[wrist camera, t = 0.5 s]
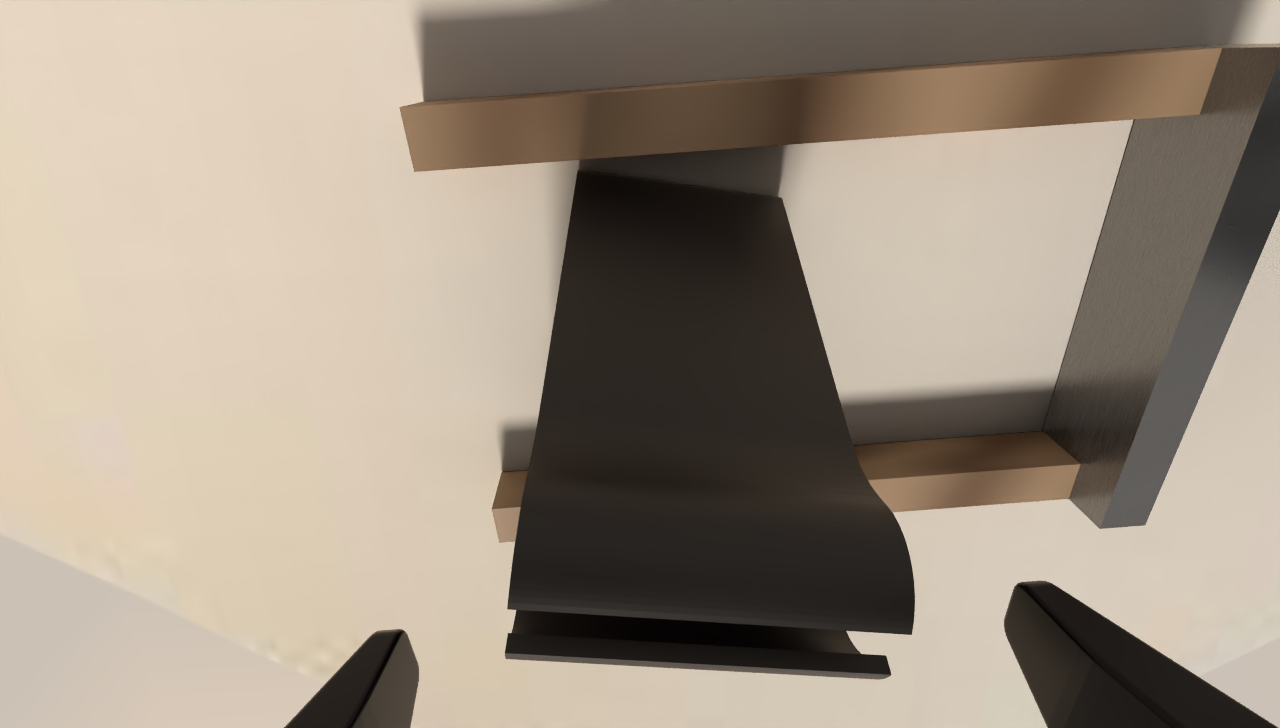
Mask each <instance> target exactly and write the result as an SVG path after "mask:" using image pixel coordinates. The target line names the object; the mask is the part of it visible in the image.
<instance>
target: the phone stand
mask: <svg viewBox="0 0 1280 728" xmlns="http://www.w3.org/2000/svg"><path fill="white" fill-rule="evenodd" d="M507 609H513V610H516V616H515V621H514V626H513V630H512V633H508V637H507V644H506V650H505V658H506V659H518V660H536V661H554V662H572V663H590V664H608V665H626V666H645V667H663V668H681V669H699V670H717V671H735V672H753V673H772V674H790V675H808V676H826V677H844V678H862V679H884V678H887V677H889V676H890V675H891V672H890V668H889V665H888V661H887V657H886V656H884V655H867V654H861V653H860V652H859V651H858V650H857V649H856V648H855V646H854V645H853V643H852V642H851V640H850V638H849V636H848V634H847V632H846V631H860V632H876V633H892V634H908V635H912V630H913V623H914V610H915V593H914V579H913V572H912V565H911V560H910V556H909V552H908V548H907V544H906V541H905V538H904V535H903V533H902V530H901V528H900V526H899V524H898V522H897V520H896V518H895V516H894V514H893V513H892V511H891V510H890V509H889V507H888V506H887V505H886V504H885V503H884V502H883V500H882V499H881V498H880V497H879V496H878V494H877V493H876V492H875V491H874V489H873V488H872V486H871V485H870V483H869V481H868V480H867V478H866V476H865V474H864V472H863V470H862V468H861V466H860V464H859V461H858V459H857V457H856V454H855V451H854V448H853V445H852V442H851V438H850V435H849V431H848V428H847V424H846V421H845V417H844V414H843V410H842V407H841V403H840V400H839V396H838V393H837V389H836V386H835V382H834V379H833V375H832V372H831V368H830V365H829V361H828V358H827V354H826V351H825V347H824V344H823V340H822V337H821V333H820V330H819V326H818V323H817V319H816V316H815V312H814V309H813V305H812V302H811V298H810V295H809V291H808V288H807V284H806V281H805V277H804V274H803V270H802V267H801V263H800V260H799V256H798V253H797V249H796V246H795V242H794V239H793V235H792V232H791V228H790V225H789V221H788V218H787V214H786V211H785V207H784V204H783V200H782V198H779V197H772V196H765V195H757V194H750V193H743V192H735V191H728V190H721V189H713V188H706V187H699V186H691V185H684V184H677V183H669V182H662V181H655V180H647V179H640V178H633V177H625V176H618V175H611V174H603V173H596V172H589V171H581V170H578V172H577V178H576V185H575V191H574V197H573V204H572V210H571V216H570V222H569V229H568V235H567V241H566V248H565V254H564V260H563V267H562V273H561V279H560V285H559V292H558V298H557V304H556V311H555V317H554V323H553V330H552V336H551V342H550V349H549V355H548V361H547V367H546V374H545V380H544V386H543V393H542V399H541V405H540V411H539V418H538V424H537V429H536V435H535V440H534V446H533V451H532V455H531V460H530V464H529V469H528V473H527V477H526V481H525V486H524V491H523V496H522V502H521V508H520V514H519V520H518V527H517V534H516V541H515V548H514V555H513V563H512V571H511V580H510V588H509V598H508V608H507Z"/></svg>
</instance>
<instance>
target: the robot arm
mask: <svg viewBox="0 0 1280 728" xmlns="http://www.w3.org/2000/svg"><path fill="white" fill-rule="evenodd" d="M1004 628H1005V633H1006V636H1007V639H1008V641H1009V643H1010V645H1011V648H1012V650H1013V652H1014V654H1015V657H1016V659H1017V661H1018V663H1019V665H1020V668H1021V670H1022V672H1023V674H1024V676H1025V679H1026V681H1027V683H1028V685H1029V687H1030V690H1031V692H1032V694H1033V696H1034V699H1035V701H1036V703H1037V705H1038V707H1039V710H1040V712H1041V714H1042V716H1043V718H1044V721H1045V723H1046V725H1047V727H1048V728H1278V727H1276V726H1275V725H1273V724H1272V723H1269V722H1268V721H1267V720H1265V719H1264V718H1262V717H1260V716H1259V715H1257V714H1256V713H1254V712H1253V711H1251V710H1249V709H1248V708H1246V707H1245V706H1243V705H1242V704H1240V703H1239V702H1237V701H1236V700H1234V699H1232V698H1231V697H1229V696H1228V695H1226V694H1225V693H1223V692H1221V691H1220V690H1218V689H1217V688H1215V687H1213V686H1212V685H1210V684H1209V683H1207V682H1206V681H1204V680H1203V679H1201V678H1199V677H1198V676H1196V675H1195V674H1193V673H1192V672H1190V671H1189V670H1187V669H1185V668H1184V667H1182V666H1181V665H1179V664H1178V663H1176V662H1174V661H1173V660H1171V659H1170V658H1168V657H1167V656H1165V655H1163V654H1162V653H1160V652H1159V651H1157V650H1156V649H1154V648H1152V647H1151V646H1149V645H1148V644H1146V643H1145V642H1143V641H1141V640H1140V639H1138V638H1137V637H1135V636H1134V635H1132V634H1130V633H1129V632H1127V631H1126V630H1124V629H1123V628H1121V627H1120V626H1118V625H1116V624H1115V623H1113V622H1112V621H1110V620H1109V619H1107V618H1105V617H1104V616H1102V615H1101V614H1099V613H1098V612H1096V611H1094V610H1093V609H1091V608H1090V607H1088V606H1087V605H1085V604H1083V603H1082V602H1080V601H1079V600H1077V599H1076V598H1074V597H1072V596H1071V595H1069V594H1068V593H1066V592H1065V591H1063V590H1062V589H1060V588H1058V587H1057V586H1055V585H1053V584H1052V583H1049V582H1046V581H1032V582H1021V583H1018V584H1017V585H1016V586H1015V587H1014V589H1013V593H1012V596H1011V599H1010V602H1009V605H1008V609H1007V612H1006V615H1005V619H1004ZM418 681H419V666H418V662H417V660H416V657H415V654H414V651H413V649H412V646H411V643H410V641H409V638H408V635H407V633H406V632H405V631H404V630H402V629H395V630H382V631H377V632H375V633H374V634H372V635H371V636H370V637H369V638H368V639H367V640H366V641H365V642H364V643H363V644H362V646H361V647H360V648H359V649H358V650H357V651H356V652H355V653H354V654H353V655H352V656H351V657H350V658H349V659H348V660H347V661H346V663H345V664H344V665H343V666H342V667H341V668H340V669H339V670H338V671H337V672H336V673H335V674H334V675H333V676H332V677H331V679H330V680H329V681H328V682H327V683H326V684H325V685H324V686H323V687H322V688H321V689H320V690H319V691H318V692H317V693H316V695H315V696H314V697H313V698H312V699H311V700H310V701H309V702H308V703H307V704H306V705H305V706H304V707H303V708H302V709H301V710H300V712H299V713H298V714H297V715H296V716H295V717H294V718H293V719H292V720H291V721H290V722H289V723H288V725H286V726H285V727H284V728H410V726H411V720H412V715H413V709H414V704H415V698H416V693H417V687H418Z"/></svg>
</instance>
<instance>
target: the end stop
mask: <svg viewBox="0 0 1280 728" xmlns="http://www.w3.org/2000/svg"><path fill="white" fill-rule="evenodd" d="M1188 48H1222V50H1221V53H1220V56H1219V59H1218V62H1217V65H1216V68H1215V71H1214V74H1213V77H1212V80H1211V82H1210V85H1209V88H1208V91H1207V94H1206V97H1205V100H1204V103H1203V106H1202V109H1201V112H1200V115H1186V116H1172V117H1159V118H1145V119H1135V121H1134V124H1133V127H1132V131H1131V134H1130V138H1129V141H1128V144H1127V148H1126V151H1125V155H1124V158H1123V161H1122V165H1121V168H1120V171H1119V175H1118V178H1117V182H1116V185H1115V188H1114V192H1113V195H1112V199H1111V202H1110V205H1109V209H1108V212H1107V215H1106V219H1105V222H1104V226H1103V229H1102V232H1101V236H1100V239H1099V243H1098V246H1097V249H1096V253H1095V256H1094V259H1093V263H1092V266H1091V270H1090V273H1089V276H1088V280H1087V283H1086V286H1085V290H1084V293H1083V297H1082V300H1081V303H1080V307H1079V310H1078V314H1077V317H1076V320H1075V324H1074V327H1073V330H1072V334H1071V337H1070V341H1069V344H1068V347H1067V351H1066V354H1065V358H1064V361H1063V364H1062V368H1061V371H1060V374H1059V378H1058V381H1057V385H1056V388H1055V391H1054V395H1053V398H1052V402H1051V405H1050V408H1049V412H1048V415H1047V418H1046V422H1045V425H1044V429H1043V432H1044V433H1045V434H1047V435H1048V436H1049V437H1050V438H1051V439H1052V440H1053V441H1055V442H1056V443H1057V444H1058V445H1059V446H1060V447H1061V448H1063V449H1064V450H1065V451H1066V452H1067V453H1068V454H1070V455H1071V456H1072V457H1073V458H1074V459H1075V460H1076V461H1078V462H1079V463H1080V467H1079V470H1078V473H1077V476H1076V479H1075V482H1074V485H1073V488H1072V490H1071V493H1070V496H1069V499H1070V500H1071V501H1072V502H1073V503H1074V504H1075V505H1076V506H1077V507H1078V508H1079V509H1080V510H1081V511H1082V512H1083V513H1084V514H1085V515H1086V516H1087V517H1088V518H1089V519H1090V520H1091V521H1092V522H1093V523H1094V524H1095V525H1096V526H1097V527H1098V528H1100V529H1102V528H1115V527H1128V526H1141V525H1145V524H1146V522H1147V519H1148V517H1149V515H1150V512H1151V510H1152V508H1153V505H1154V503H1155V501H1156V498H1157V496H1158V494H1159V491H1160V489H1161V487H1162V484H1163V482H1164V480H1165V477H1166V475H1167V472H1168V470H1169V468H1170V465H1171V463H1172V461H1173V458H1174V456H1175V454H1176V451H1177V449H1178V447H1179V444H1180V442H1181V440H1182V437H1183V435H1184V433H1185V430H1186V428H1187V426H1188V423H1189V421H1190V419H1191V416H1192V414H1193V412H1194V409H1195V407H1196V405H1197V402H1198V400H1199V398H1200V395H1201V393H1202V391H1203V388H1204V386H1205V383H1206V381H1207V379H1208V376H1209V374H1210V372H1211V369H1212V367H1213V365H1214V362H1215V360H1216V358H1217V355H1218V353H1219V351H1220V348H1221V346H1222V344H1223V341H1224V339H1225V337H1226V334H1227V332H1228V330H1229V327H1230V325H1231V323H1232V320H1233V318H1234V316H1235V313H1236V311H1237V309H1238V306H1239V304H1240V302H1241V299H1242V297H1243V294H1244V292H1245V290H1246V287H1247V285H1248V283H1249V280H1250V278H1251V276H1252V273H1253V271H1254V269H1255V266H1256V264H1257V262H1258V259H1259V257H1260V255H1261V252H1262V250H1263V248H1264V245H1265V243H1266V241H1267V238H1268V236H1269V234H1270V231H1271V229H1272V227H1273V224H1274V222H1275V220H1276V217H1277V215H1278V212H1279V210H1280V44H1238V45H1204V46H1190V47H1176V48H1162V49H1188Z"/></svg>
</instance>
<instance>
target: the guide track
mask: <svg viewBox="0 0 1280 728" xmlns="http://www.w3.org/2000/svg"><path fill="white" fill-rule="evenodd" d="M1221 50H1222V48H1188V49H1149V50H1135V51H1121V52H1107V53H1093V54H1079V55H1065V56H1052V57H1038V58H1024V59H1010V60H996V61H982V62H968V63H955V64H941V65H927V66H913V67H899V68H885V69H871V70H857V71H844V72H830V73H816V74H802V75H788V76H774V77H760V78H747V79H733V80H719V81H705V82H691V83H677V84H663V85H649V86H636V87H622V88H608V89H594V90H580V91H566V92H552V93H539V94H525V95H511V96H497V97H483V98H469V99H455V100H441V101H428V102H420V103H416V104H412V105H407V106H403V107H400V111H401V116H402V120H403V124H404V129H405V133H406V138H407V142H408V146H409V151H410V155H411V159H412V164H413V168H414V172H418V171H432V170H445V169H459V168H473V167H486V166H500V165H514V164H528V163H541V162H555V161H569V160H582V159H596V158H610V157H624V156H637V155H651V154H665V153H678V152H692V151H706V150H720V149H733V148H747V147H761V146H775V145H788V144H802V143H816V142H829V141H843V140H857V139H871V138H884V137H898V136H912V135H925V134H939V133H953V132H967V131H980V130H994V129H1008V128H1022V127H1035V126H1049V125H1063V124H1076V123H1090V122H1104V121H1118V120H1131V119H1145V118H1159V117H1172V116H1186V115H1200V112H1201V109H1202V106H1203V103H1204V100H1205V97H1206V94H1207V91H1208V88H1209V85H1210V82H1211V80H1212V77H1213V74H1214V71H1215V68H1216V65H1217V62H1218V59H1219V56H1220V53H1221ZM853 448H854V451H855V454H856V457H857V459H858V461H859V464H860V466H861V468H862V470H863V472H864V474H865V476H866V478H867V480H868V481H869V483H870V485H871V486H872V488H873V489H874V491H875V492H876V493H877V494H878V496H879V497H880V498H881V499H882V500H883V502H884V503H885V504H886V505H887V506H888V507H889V509H890V510H891V511H892V512H902V511H915V510H928V509H941V508H954V507H967V506H980V505H993V504H1006V503H1019V502H1032V501H1045V500H1058V499H1069V496H1070V493H1071V490H1072V488H1073V485H1074V482H1075V479H1076V476H1077V473H1078V470H1079V467H1080V463H1079V462H1078V461H1076V460H1075V459H1074V458H1073V457H1072V456H1071V455H1070V454H1068V453H1067V452H1066V451H1065V450H1064V449H1063V448H1061V447H1060V446H1059V445H1058V444H1057V443H1056V442H1055V441H1053V440H1052V439H1051V438H1050V437H1049V436H1048V435H1047V434H1045V433H1044V432H1043V431H1039V432H1026V433H1013V434H1000V435H986V436H973V437H960V438H947V439H934V440H921V441H908V442H895V443H882V444H868V445H855V446H853ZM527 473H528V471H514V472H502V473H501V477H500V481H499V484H498V488H497V492H496V495H495V499H494V503H493V507H492V512H493V517H494V521H495V525H496V530H497V534H498V538H499V543H500V542H513V541H516V534H517V527H518V520H519V514H520V508H521V502H522V496H523V491H524V486H525V481H526V477H527Z"/></svg>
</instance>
